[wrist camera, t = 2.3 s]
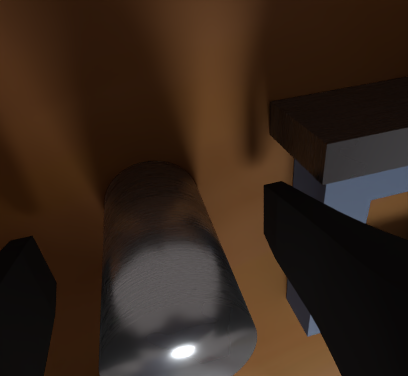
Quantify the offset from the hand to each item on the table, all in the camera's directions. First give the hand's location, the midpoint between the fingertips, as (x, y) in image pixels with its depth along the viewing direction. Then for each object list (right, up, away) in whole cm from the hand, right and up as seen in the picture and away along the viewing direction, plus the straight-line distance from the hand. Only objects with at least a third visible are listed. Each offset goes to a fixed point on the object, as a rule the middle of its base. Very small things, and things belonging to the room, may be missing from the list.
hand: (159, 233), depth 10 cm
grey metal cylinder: (0, +1, +2) cm, 2 cm away
